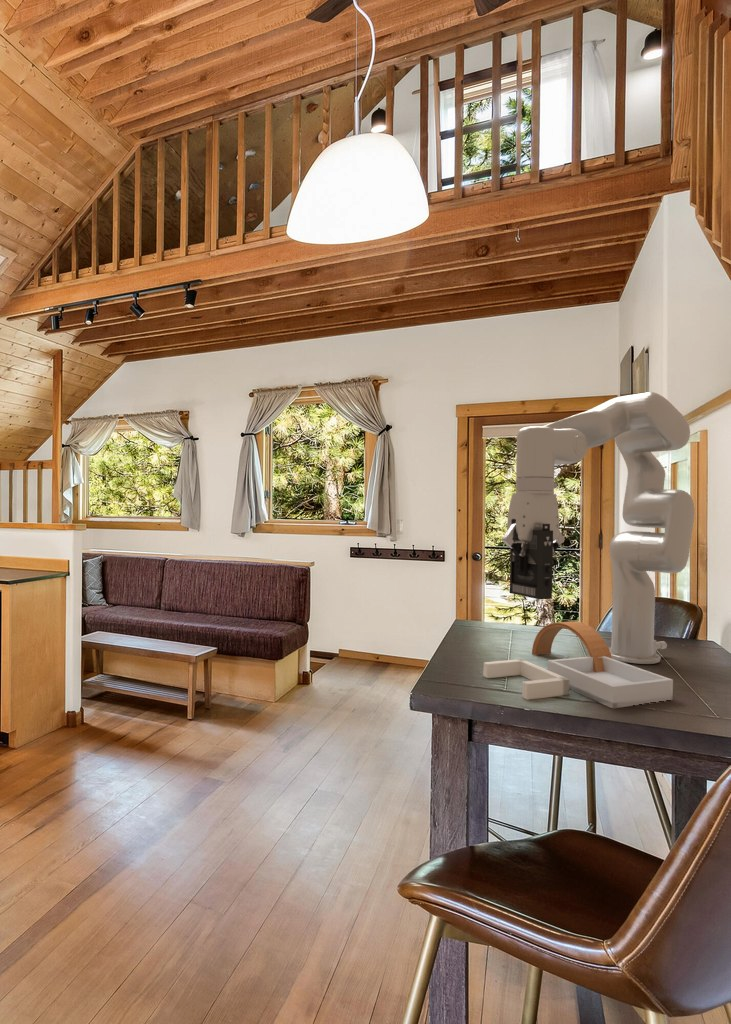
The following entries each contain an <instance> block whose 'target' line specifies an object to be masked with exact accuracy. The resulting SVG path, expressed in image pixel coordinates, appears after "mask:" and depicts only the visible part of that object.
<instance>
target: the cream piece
mask: <svg viewBox="0 0 731 1024" xmlns="http://www.w3.org/2000/svg"><path fill="white" fill-rule="evenodd" d="M482 669H483V671H482V672H483V673H482V676H483V677H484V678H486V679H492V678H495V679H496V678H503V677H511V676H512V677H513V676H514V677H515V676H522V677H524V678H526V679H528V680H527V681H526V680H525V681H524V680H523V681H522V687H521V688H522V691H521V698H523V699H525V700H527V701H528V700H536V699H544V698H553V697H562V696H569V695H570V689H569V679H567V678H565V677H563V676H560V675H558V674H556V673H553V672H551V671H549V670H547V669H546V668H544V667H541V666H540V665H537V664H534V663H532V662H530V661H527V660H526V659H523V658H518V659H507V660H496V661H484V662H483V668H482Z"/></svg>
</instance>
